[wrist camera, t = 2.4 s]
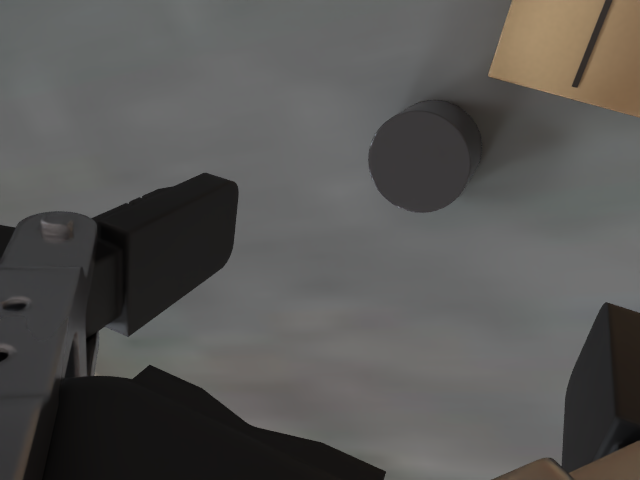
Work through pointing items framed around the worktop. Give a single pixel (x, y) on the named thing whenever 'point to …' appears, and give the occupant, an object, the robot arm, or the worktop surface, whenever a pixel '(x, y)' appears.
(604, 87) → the grid board
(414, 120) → the dark grey short cylinder
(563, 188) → the worktop surface
